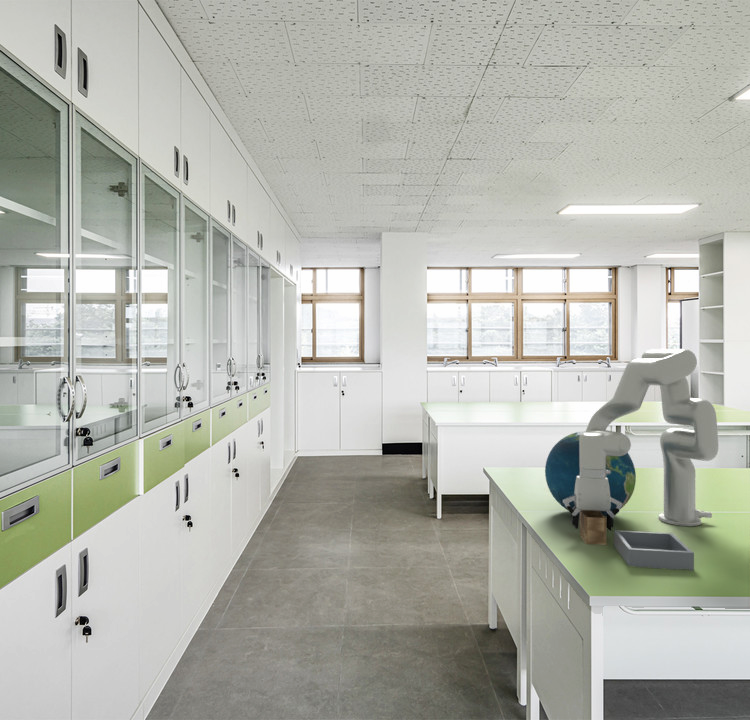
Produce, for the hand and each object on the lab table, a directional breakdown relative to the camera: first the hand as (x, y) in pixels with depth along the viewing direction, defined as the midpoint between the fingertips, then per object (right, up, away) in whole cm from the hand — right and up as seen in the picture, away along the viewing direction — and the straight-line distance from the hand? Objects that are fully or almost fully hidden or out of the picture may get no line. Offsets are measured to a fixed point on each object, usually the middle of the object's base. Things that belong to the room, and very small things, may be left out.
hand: (592, 528), depth 166 cm
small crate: (0, -3, 0) cm, 3 cm away
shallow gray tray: (+10, -4, -15) cm, 19 cm away
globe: (+9, -3, +24) cm, 26 cm away
